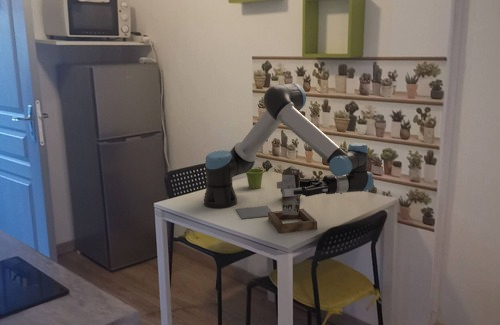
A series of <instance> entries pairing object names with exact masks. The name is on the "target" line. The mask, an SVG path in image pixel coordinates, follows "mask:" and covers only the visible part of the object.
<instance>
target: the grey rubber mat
mask: <svg viewBox="0 0 500 325" xmlns="http://www.w3.org/2000/svg"><path fill="white" fill-rule="evenodd" d="M235 211H236V212H237V214H238V215H239V217H240V218H241V220H248V219H249V220H250V219H258V218H267V217H268V212H273V211H272V209H270V208H269V206H268V205H261V206H252V207H251V206H250V207H240V208H235Z"/></svg>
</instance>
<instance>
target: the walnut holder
mask: <svg viewBox="0 0 500 325" xmlns="http://www.w3.org/2000/svg"><path fill="white" fill-rule="evenodd" d="M298 218H300V219H301V220H302V221H296V222H286V223H283V222H282V221H281V220H289V219H298ZM267 219H268V221H269V222H270V223H271V225H272V226H273V227H274V229H275V230H276V231H277V232H278V234H286V233H297V232H303V231H304V230H306V231H313V230H312V229H315V230H318V221H317V220H316V219H315V218H314V217H313V216H312V215H311V214H310V213H309V212H307V210H305V209H304V208H300V209H299V213H298V215H284V214H282V210H277V211H274V210H273V211H272V212H268V218H267ZM296 231H297V232H296ZM304 232H305V231H304Z"/></svg>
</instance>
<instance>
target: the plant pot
mask: <svg viewBox="0 0 500 325" xmlns="http://www.w3.org/2000/svg"><path fill="white" fill-rule="evenodd" d="M264 171H265V170H264V169H261V168H252V169H251V170H250V171H248V172H246V173H245V174H246V177H247V184H248V188H249V189H252V190H256V189H261V188H262V181H263V176H264Z"/></svg>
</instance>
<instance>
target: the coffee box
mask: <svg viewBox="0 0 500 325" xmlns="http://www.w3.org/2000/svg"><path fill="white" fill-rule="evenodd" d="M300 174H301V173H300V169H299V168H298V169H297V168H296V169H289V170H287V168H286V169H283V172H282V174H281V181H282V193H281V203H282V204H281V206H282V207H281V209H282V210H281V211H282V214H284V215H298V213H299V209H301V208H300V207H301V202H300V201H301V199H300V198H301V196H300V195H296V196H284V189H291V188H300V178H301V175H300Z"/></svg>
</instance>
